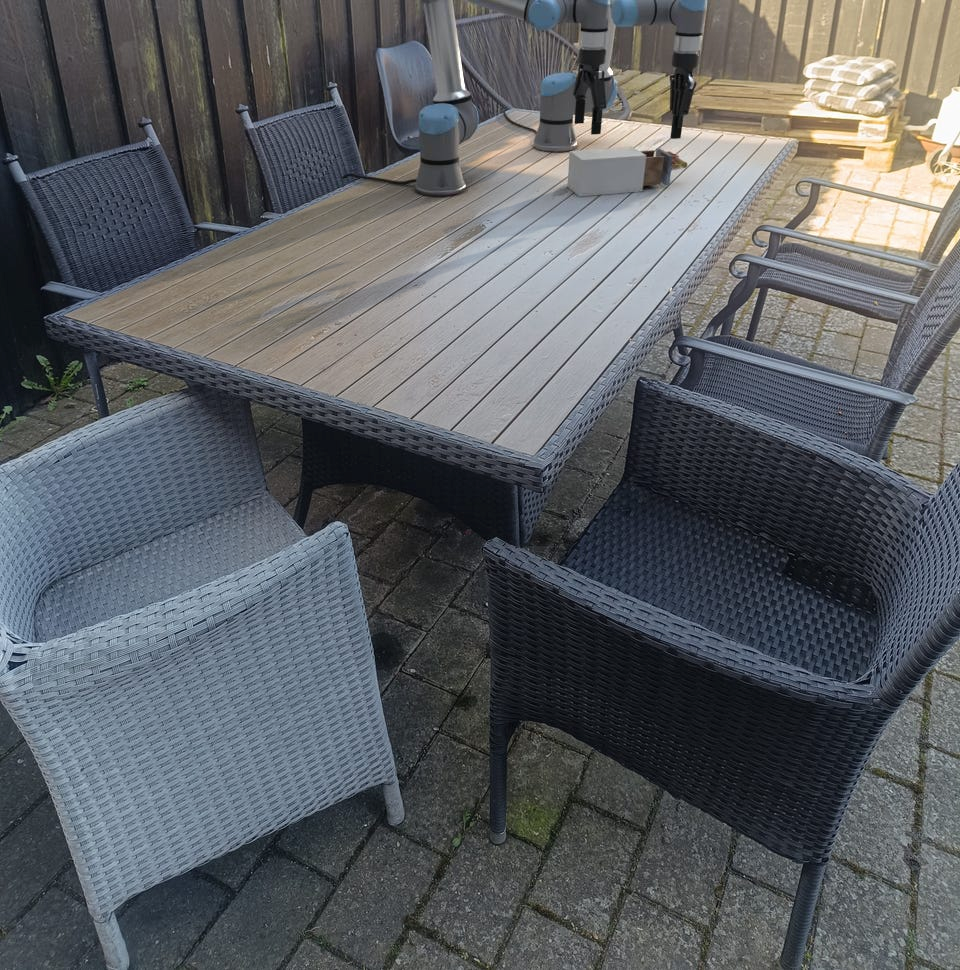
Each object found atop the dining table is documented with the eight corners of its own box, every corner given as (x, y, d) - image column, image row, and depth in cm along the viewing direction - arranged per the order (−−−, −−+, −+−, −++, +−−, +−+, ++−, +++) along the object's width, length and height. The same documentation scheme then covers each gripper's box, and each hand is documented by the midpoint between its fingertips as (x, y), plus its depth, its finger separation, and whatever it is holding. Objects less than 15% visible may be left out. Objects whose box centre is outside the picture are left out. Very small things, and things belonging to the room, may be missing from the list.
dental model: (673, 148, 282) (683, 154, 275) (672, 161, 284) (682, 167, 278) (657, 149, 281) (667, 156, 274) (656, 162, 283) (666, 169, 277)
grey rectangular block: (628, 181, 265) (632, 146, 259) (642, 191, 257) (646, 155, 251) (567, 186, 261) (569, 151, 255) (579, 196, 253) (581, 160, 247)
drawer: (674, 175, 268) (678, 146, 263) (687, 183, 260) (691, 154, 255) (599, 181, 262) (601, 152, 257) (610, 190, 255) (613, 160, 250)
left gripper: (622, 54, 226) (615, 137, 238) (589, 40, 245) (584, 118, 258) (596, 55, 224) (590, 139, 236) (565, 41, 244) (560, 119, 256)
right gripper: (709, 54, 238) (696, 142, 251) (688, 47, 248) (677, 132, 262) (684, 56, 236) (673, 144, 250) (664, 48, 246) (655, 133, 260)
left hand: (587, 128), depth 247 cm, fingers open, 13 cm apart
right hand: (675, 138), depth 256 cm, fingers closed
